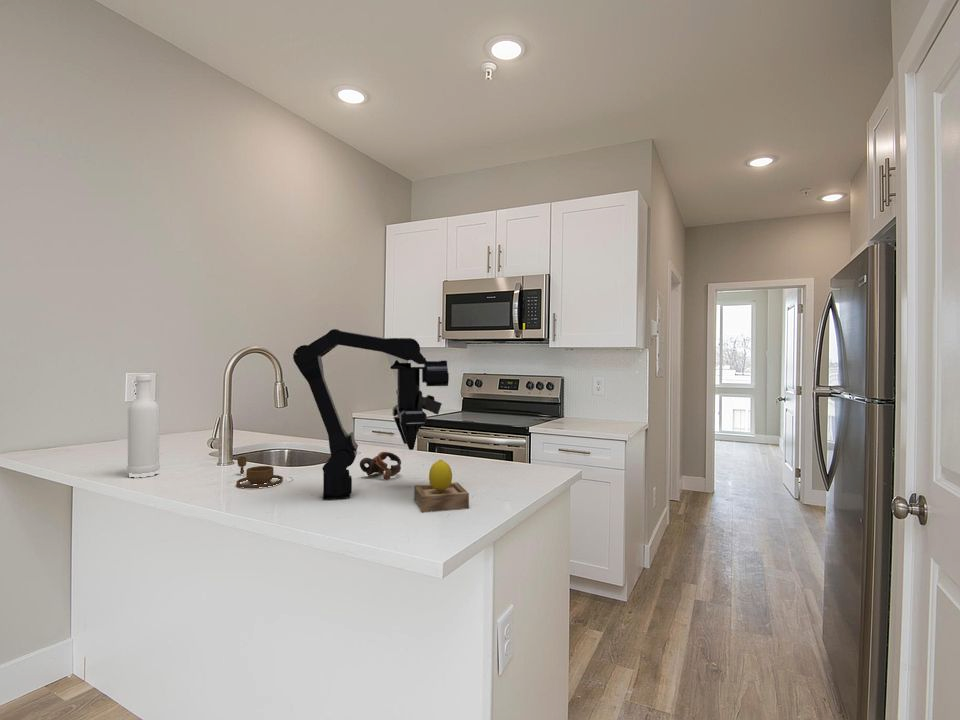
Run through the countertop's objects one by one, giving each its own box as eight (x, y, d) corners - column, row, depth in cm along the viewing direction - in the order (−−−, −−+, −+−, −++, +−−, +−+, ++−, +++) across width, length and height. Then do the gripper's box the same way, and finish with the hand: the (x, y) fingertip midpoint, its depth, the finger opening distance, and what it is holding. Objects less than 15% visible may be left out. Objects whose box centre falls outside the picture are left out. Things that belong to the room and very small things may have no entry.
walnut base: (422, 512, 114) (422, 496, 114) (414, 499, 124) (414, 485, 124) (468, 508, 117) (468, 493, 117) (457, 495, 128) (457, 482, 128)
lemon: (429, 490, 123) (429, 457, 123) (451, 489, 124) (451, 457, 124) (428, 496, 118) (428, 462, 118) (452, 495, 118) (452, 461, 118)
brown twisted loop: (390, 473, 156) (400, 451, 153) (396, 493, 148) (406, 471, 145) (353, 466, 150) (363, 444, 148) (356, 487, 142) (367, 464, 140)
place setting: (219, 493, 132) (219, 471, 132) (235, 476, 152) (235, 456, 152) (290, 489, 137) (290, 467, 137) (297, 473, 156) (297, 454, 156)
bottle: (122, 479, 145) (122, 375, 145) (134, 473, 153) (134, 374, 153) (153, 477, 147) (153, 375, 147) (163, 471, 155) (163, 374, 155)
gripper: (446, 388, 124) (446, 451, 124) (432, 384, 142) (432, 439, 142) (401, 388, 121) (401, 453, 121) (392, 385, 139) (392, 441, 139)
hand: (408, 446), depth 131 cm, fingers open, 9 cm apart
